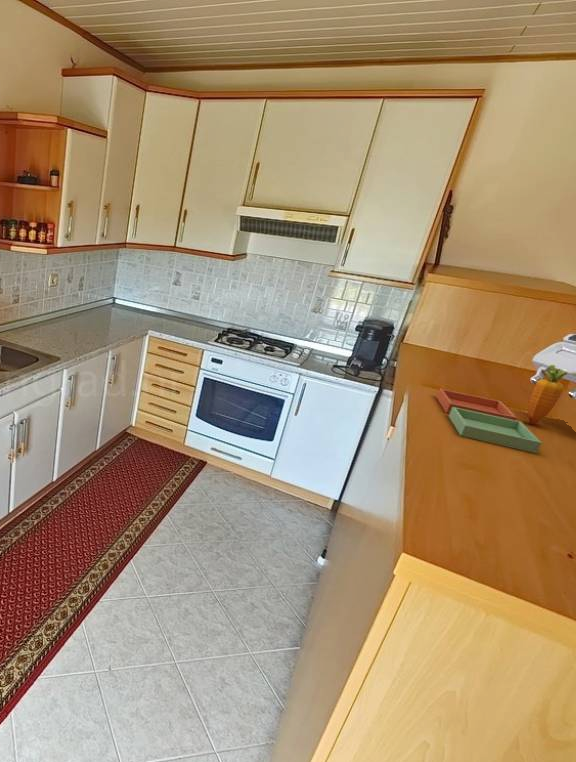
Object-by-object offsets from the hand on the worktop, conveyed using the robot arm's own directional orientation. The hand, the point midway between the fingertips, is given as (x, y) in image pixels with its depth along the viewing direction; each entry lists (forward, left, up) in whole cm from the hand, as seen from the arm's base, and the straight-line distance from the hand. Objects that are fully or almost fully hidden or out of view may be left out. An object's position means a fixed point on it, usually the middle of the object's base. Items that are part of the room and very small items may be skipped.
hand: (551, 389), depth 116 cm
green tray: (+13, +16, -9) cm, 23 cm away
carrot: (+1, 0, -10) cm, 10 cm away
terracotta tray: (+13, 0, -9) cm, 16 cm away
